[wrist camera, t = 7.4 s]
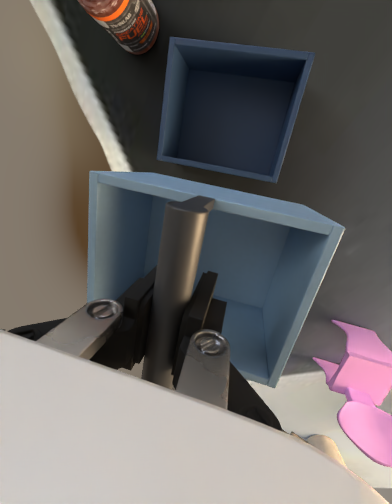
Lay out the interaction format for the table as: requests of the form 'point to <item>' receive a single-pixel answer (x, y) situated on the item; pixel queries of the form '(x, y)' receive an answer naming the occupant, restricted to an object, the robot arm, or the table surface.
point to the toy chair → (363, 391)
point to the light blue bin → (209, 263)
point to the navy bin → (231, 106)
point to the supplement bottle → (126, 21)
